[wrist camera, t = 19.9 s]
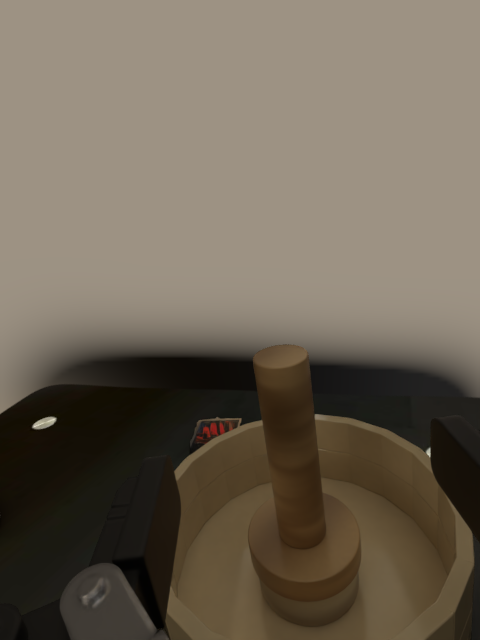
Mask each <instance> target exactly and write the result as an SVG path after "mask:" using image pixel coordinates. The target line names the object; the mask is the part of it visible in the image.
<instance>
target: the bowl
mask: <svg viewBox="0 0 480 640" xmlns="http://www.w3.org/2000/svg"><path fill="white" fill-rule="evenodd" d="M314 415H315V425H316V435H317V445H318V454H319V464H320V474H321V483H322V492H323V493H326V494H328V495H331V496H333V497H335V498H337V499H338V500H339V501H341V502H342V503H343V504H345V505H346V506H347V507H348V508H349V510H350V511H351V512H352V514H353V515H354V517H355V518H356V521H357V523H358V526H359V530H360V539H361V563H360V567H359V570H358V574H359V588H358V593H357V596H356V599H355V601H354V603H353V605H352V606H351V608H350V609H349V610H348V611H347V612H346V613H345V614H344V615H343V616H342V617H341V618H339V619H338V620H336V621H334V622H332V623H329V624H326V625H322V626H314V627H309V626H301V625H297V624H294V623H291V622H289V621H287V620H285V619H284V618H282V617H281V616H279V615H278V614H277V613H276V612H275V611H274V610H273V609H272V608H271V607H270V606H269V604H268V603H267V601H266V600H265V598H264V596H263V593H262V590H261V585H260V580H259V577H258V575H257V574H256V572H255V569H254V567H253V564H252V560H251V554H250V549H249V543H248V529H249V525H250V522H251V519H252V517H253V515H254V514H255V512H256V511H257V510H258V508H259V507H260V506H261V505H262V504H264V503H265V502H266V501H267V500H269V499H270V498H272V497H274V496H273V489H272V482H271V476H270V469H269V463H268V456H267V450H266V443H265V437H264V430H263V423H262V420H260V421H256V422H252V423H248V424H245V425H242V426H240V427H238V428H235V429H233V430H231V431H229V432H226V433H224V434H222V435H220V436H217V437H215V438H214V439H212V440H210V441H209V442H208V443H206V444H205V445H203V446H202V447H201V448H199V449H198V450H197V451H195V452H194V453H192V454H191V455H190V456H188V457H187V458H186V459H185V460H184V461H183V462H182V463H181V464H180V465H179V466H178V468H177V469H176V470H175V471H174V473H175V477H176V481H177V485H178V489H179V494H180V499H181V519H180V526H179V533H178V539H177V546H176V553H175V560H174V566H173V573H172V580H171V587H170V593H169V600H168V607H167V614H166V620H165V627H164V628H165V631H166V634H167V636H168V638H169V639H170V640H471V626H472V607H473V604H472V603H473V587H474V568H475V559H474V546H473V533H472V531H471V530H470V528H469V527H468V526H467V524H466V523H465V521H464V520H463V518H462V517H461V516H460V514H459V513H458V511H457V510H456V508H455V507H454V506H453V504H452V503H451V501H450V500H449V498H448V497H447V496H446V494H445V493H444V491H443V490H442V488H441V487H440V486H439V484H438V483H437V481H436V479H435V477H434V474H433V471H432V468H431V460H430V457H429V456H428V455H427V454H426V453H425V452H424V451H423V450H421V449H420V448H419V447H417V446H415V445H413V444H412V443H410V442H408V441H406V440H405V439H403V438H401V437H399V436H398V435H396V434H394V433H392V432H391V431H389V430H386V429H383V428H380V427H377V426H374V425H371V424H368V423H364V422H361V421H358V420H355V419H351V418H344V417H336V416H328V415H319V414H314Z"/></svg>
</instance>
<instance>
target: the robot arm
mask: <svg viewBox="0 0 480 640" xmlns="http://www.w3.org/2000/svg"><path fill="white" fill-rule="evenodd" d="M430 460H431V468H432V471H433V474H434V477H435V479H436V481H437V483H438V484H439V486H440V487H441V488H442V490H443V491H444V493H445V494H446V496H447V497H448V498H449V500H450V501H451V503H452V504H453V506H454V507H455V508H456V510H457V511H458V513H459V514H460V516H461V517H462V518H463V520H464V521H465V523H466V524H467V526H468V527H469V528H470V530H471V531H472V533H473V534H474V535H475V537H476V538H477V540H478V541H479V543H480V430H475V429H474V428H473V427H472V426H471V425H470V424H469V423H468V422H467V421H466V420H465V419H464V418H463V417H462V416H460V415H454V416H447V417H440V418H434V419H432V421H431V457H430ZM180 519H181V499H180V494H179V489H178V485H177V481H176V477H175V473H174V469H173V465H172V461H171V458H170V456H169V455H164V456H157V457H150V458H145V459H144V460H143V462H142V466H141V469H140V472H139V475H138V477H131V478H128V479H127V480H126V481H125V482H124V483H123V484H122V486H121V487H120V488H119V489H118V490H117V492H116V494H115V497H114V500H113V502H112V505H111V509H110V511H109V513H108V516H107V521H105V524H104V527H103V529H102V532H101V535H100V537H99V540H98V543H97V546H96V548H95V551H94V554H93V556H92V559H91V562H90V564H89V567H88V568H86V569H85V570H83V571H82V572H80V573H79V574H78V575H76V576H75V577H74V578H73V579H72V580H71V581H70V583H69V584H68V585H67V587H66V588H65V590H64V592H63V594H62V596H61V598H60V599H58V600H56V601H54V602H52V603H50V604H48V605H45V606H43V607H41V608H38V609H36V610H34V611H31V612H29V613H27V614H24V615H22V616H21V614H20V612H19V610H18V608H17V607H16V606H14V605H12V604H7V603H4V604H0V640H170V639H169V638H168V636H167V635H166V633H165V632H164V631H163V630H162V629H159V628H164V627H165V620H166V614H167V607H168V600H169V593H170V587H171V580H172V573H173V566H174V560H175V553H176V546H177V539H178V533H179V526H180ZM157 629H159V630H157Z"/></svg>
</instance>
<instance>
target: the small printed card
mask: <svg viewBox="0 0 480 640" xmlns="http://www.w3.org/2000/svg"><path fill="white" fill-rule="evenodd" d="M240 423H241V418H240V419H237V418H236V419H228V418H225V419H220V418H218V417H216V419H211V420H209V419H208V420H200V421H198V422H197V428H195V432H194V436H193V438H192V439H191V440H190V450H191V454H192V453H194V452H195V451H197V450H198V449H199V448H201V447H202V446H203V445H205V444H206V443H208V442H209V441H210V440H212V439H214V438H215V437H217V436H220V435H222V434H224V433H226V432H229V431H231V430H233V429H235V428H238V427H240V426H239V425H240Z"/></svg>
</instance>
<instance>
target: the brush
mask: <svg viewBox="0 0 480 640" xmlns="http://www.w3.org/2000/svg"><path fill="white" fill-rule="evenodd" d="M253 364H254V371H255V377H256V384H257V391H258V397H259V404H260V410H261V417H262V423H263V430H264V437H265V443H266V450H267V456H268V463H269V469H270V476H271V482H272V489H273V496H274V497H272V498H270V499H269V500H267V501H266V502H265V503H264V504H262V505H261V506H260V507H259V508H258V510H257V511H256V512H255V514H254V515H253V517H252V519H251V522H250V525H249V529H248V543H249V549H250V554H251V560H252V564H253V567H254V569H255V572H256V574H257V575H258V577H259V580H260V585H261V590H262V593H263V596H264V598H265V600H266V601H267V603H268V604H269V606H270V607H271V608H272V609H273V610H274V611H275V612H276V613H277V614H278V615H279V616H281V617H282V618H284V619H285V620H287V621H289V622H291V623H294V624H297V625H301V626H309V627H314V626H322V625H326V624H329V623H332V622H334V621H336V620H338V619H339V618H341V617H342V616H343V615H344V614H345V613H346V612H347V611H348V610H349V609H350V608H351V606H352V605H353V603H354V601H355V599H356V596H357V593H358V588H359V574H358V570H359V567H360V563H361V539H360V530H359V526H358V523H357V521H356V518H355V517H354V515H353V514H352V512H351V511H350V510H349V508H348V507H347V506H346V505H345V504H343V503H342V502H341V501H339V500H338V499H337V498H335V497H333V496H331V495H328V494H326V493H323V492H322V483H321V474H320V464H319V454H318V445H317V435H316V425H315V415H314V406H313V396H312V387H311V377H310V367H309V357H308V352H307V351H306V350H305V349H304V348H302V347H300V346H296V345H276V346H271V347H268V348H265V349H263V350H261V351H259V352H257V353H256V354H255V355H254V358H253Z"/></svg>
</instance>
